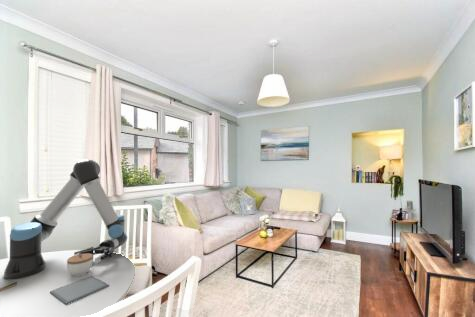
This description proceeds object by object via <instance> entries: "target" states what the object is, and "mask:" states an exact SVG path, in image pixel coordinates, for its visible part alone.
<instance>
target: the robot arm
mask: <svg viewBox="0 0 475 317" xmlns="http://www.w3.org/2000/svg"><path fill="white" fill-rule="evenodd" d="M100 172H101V167H100V164H99V163H98V162H96V161H95V160H93V159H85V158H84V159H80V160H79V161H77V162H76V163H75V164H74V166H73V168H72V172H71V173H70V174H69V177H70V178H69V180H68V181H67V182H66V183H65V185H63V187H62V188H61V189H60V191H59V192H58V193H57V194H56V195H55V197H54V198H53V199H52V200H51V201H50V202H49V204H48V205H47V206H46V207H45V208H44V210H43V211H42V212H41V213H39V214H36V215H35V216H34V217H33V218H32V220H30V222H25V223H21V224H18V225H14V227H12V228H11V230H10V233H9V260H8V261H7V262H8V263H7V264H6V267H5V270H4V274H3V277H4V278H5V279H8V280H9V279H14V280H15V279H20V278H25V277H30V276H32V275H35V274H37V273H40V272H41V271H43V270H45V269H46V262H45V259H44V257H43V255H42V242H43V241H44V240H47V239H48V238H49V237H50V236H51V235H52V233H53V231H54V230H55V228H56V227H57V225H58V220H59V218H60V217H61V216H62V215H63V214H64V213H65V211H66V210H67V208H68V207H69V206H70V205H71V204H72V202H73V201H74V200H75V199H76V197H78V195H79V194H80V193H81V191H82V190H83V189H85V190H86V193H87V194H88V197H89V199H90V200H91V201H92V204H93V206H94V208H95V209H96V211H97V212H98V215H99V216H100V218H101V220H102V221H103V224H104V225H105V227H106V229H107V232H108V234H107V235H108V236H109V238H107V239H105V240H104V241H102V242H100V244H99V245H98V246H96V247H94V246H91V247H88V248H85V249H81V250H77V251H75V252H74V254H73V255H71V257H73V256H75V255H79V254H86V253H89V254H93V256H94V255H95V256H96V255H97V256H96V257H94V264H95V265H97V264H98V263H101V261H103V260H105V259H108V258H109V259H110V258H111V259H112V257H113V255H114V254H113V253H114V252H115V250H117V248H120V247H121V246H123V245H124V244H126V242H127V240H128V235H127V233H125V221H126V220H125V216H124V215H121V214H118V215H117V213H116V211H115V209H114V207H113V205H112V203H111V202H110V199H109V197H108V196H107V194H106V191H105V190H104V188H103V187H102V185H101V182H100V176H99V174H100ZM99 254H100V255H99ZM69 258H70V257H68V258H67V260H68V259H69Z"/></svg>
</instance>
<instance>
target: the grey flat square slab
mask: <svg viewBox="0 0 475 317" xmlns="http://www.w3.org/2000/svg"><path fill="white" fill-rule="evenodd" d="M108 287H110V284H108V283H106V282H105V281H103V280H100V279H99V278H97V277H95V276H93V275H90V276H89V275H88V276H87V277H84V278H82V279H81V278H80V279H78V280H76V281H74V282H71V283H68V284H66V285H63V286H60V287H58V288H55V289H52V290H50V291H49V293H50V294H51V295H52V296H53V297H54V298H56V299H58V300H59V302H61V303H63V304H64V305H65V306H67V304H68V305H70V304H72V303H74V301H75V302H76V300H77V301H79V300H82V299H83V297H84V298H86V297H88V296H90V295H92V294H95V293H97V292H99V291H101V290H104V289H106V288H108ZM78 299H79V300H78ZM71 302H72V303H71ZM69 303H70V304H69Z"/></svg>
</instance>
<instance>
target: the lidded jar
mask: <svg viewBox="0 0 475 317" xmlns="http://www.w3.org/2000/svg"><path fill="white" fill-rule="evenodd" d="M72 256H73V257H72ZM72 256H70V257H68V258H69V259H68V258H67V260H66V265H67V267H66V268H67V270H68V273H69V274H70V275H72V277H79V276H80V277H81V276H83V275H86V274H88V272H89V271H90V269H91V268H92V266H93V264H94V263H93V262H94V255H93V254H89V253H86V254H79V255H75V256H74V255H72Z"/></svg>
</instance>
